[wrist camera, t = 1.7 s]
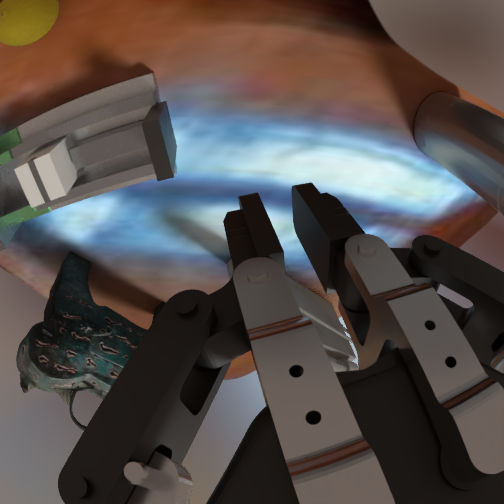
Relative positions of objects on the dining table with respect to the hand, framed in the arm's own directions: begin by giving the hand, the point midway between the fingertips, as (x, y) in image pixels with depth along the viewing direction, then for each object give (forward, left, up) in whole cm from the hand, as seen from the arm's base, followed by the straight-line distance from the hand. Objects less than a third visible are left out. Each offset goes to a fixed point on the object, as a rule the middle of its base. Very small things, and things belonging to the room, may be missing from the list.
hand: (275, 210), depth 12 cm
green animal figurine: (+17, +19, -19) cm, 32 cm away
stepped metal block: (+9, 0, -17) cm, 20 cm away
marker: (+17, 0, -18) cm, 24 cm away
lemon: (+15, -15, -19) cm, 28 cm away
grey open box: (+16, 0, -19) cm, 25 cm away
